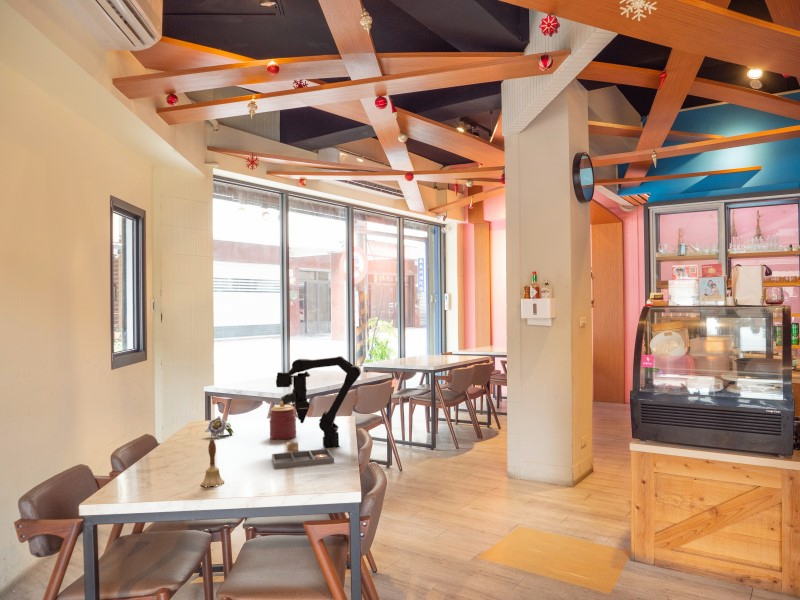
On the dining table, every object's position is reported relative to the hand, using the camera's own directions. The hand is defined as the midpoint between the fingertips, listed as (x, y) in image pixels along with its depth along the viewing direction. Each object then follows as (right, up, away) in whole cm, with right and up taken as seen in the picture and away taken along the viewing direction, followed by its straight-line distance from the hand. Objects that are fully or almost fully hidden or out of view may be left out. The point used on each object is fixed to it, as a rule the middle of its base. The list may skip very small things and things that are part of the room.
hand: (300, 421), depth 264 cm
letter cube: (-1, -11, -12) cm, 17 cm away
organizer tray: (+5, -11, -25) cm, 28 cm away
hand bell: (-23, -12, -53) cm, 59 cm away
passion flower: (-47, -14, +32) cm, 58 cm away
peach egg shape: (+12, -11, -23) cm, 28 cm away
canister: (-13, -13, +24) cm, 30 cm away
